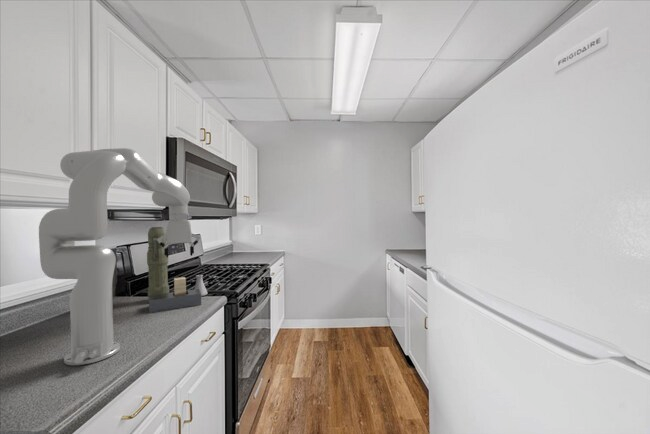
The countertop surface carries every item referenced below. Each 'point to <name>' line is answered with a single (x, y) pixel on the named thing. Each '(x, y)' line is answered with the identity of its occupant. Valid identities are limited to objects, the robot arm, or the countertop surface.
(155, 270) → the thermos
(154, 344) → the countertop surface
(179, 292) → the peg
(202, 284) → the flask
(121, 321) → the countertop surface
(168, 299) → the rail
